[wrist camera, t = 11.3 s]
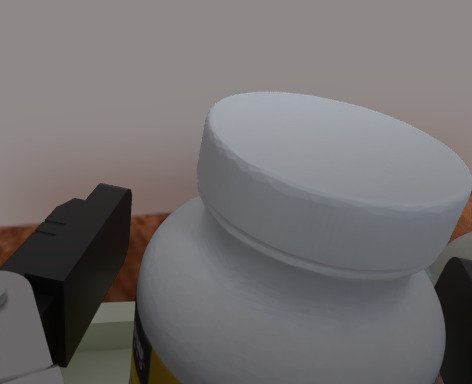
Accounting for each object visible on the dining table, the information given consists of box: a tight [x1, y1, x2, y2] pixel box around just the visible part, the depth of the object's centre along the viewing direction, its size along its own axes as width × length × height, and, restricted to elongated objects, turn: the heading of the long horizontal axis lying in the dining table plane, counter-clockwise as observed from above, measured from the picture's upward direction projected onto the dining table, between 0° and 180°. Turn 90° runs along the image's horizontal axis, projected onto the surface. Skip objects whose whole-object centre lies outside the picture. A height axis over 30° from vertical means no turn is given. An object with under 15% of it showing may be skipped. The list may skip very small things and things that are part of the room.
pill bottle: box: [129, 92, 472, 384], centre depth 11 cm, size 6×6×12 cm
